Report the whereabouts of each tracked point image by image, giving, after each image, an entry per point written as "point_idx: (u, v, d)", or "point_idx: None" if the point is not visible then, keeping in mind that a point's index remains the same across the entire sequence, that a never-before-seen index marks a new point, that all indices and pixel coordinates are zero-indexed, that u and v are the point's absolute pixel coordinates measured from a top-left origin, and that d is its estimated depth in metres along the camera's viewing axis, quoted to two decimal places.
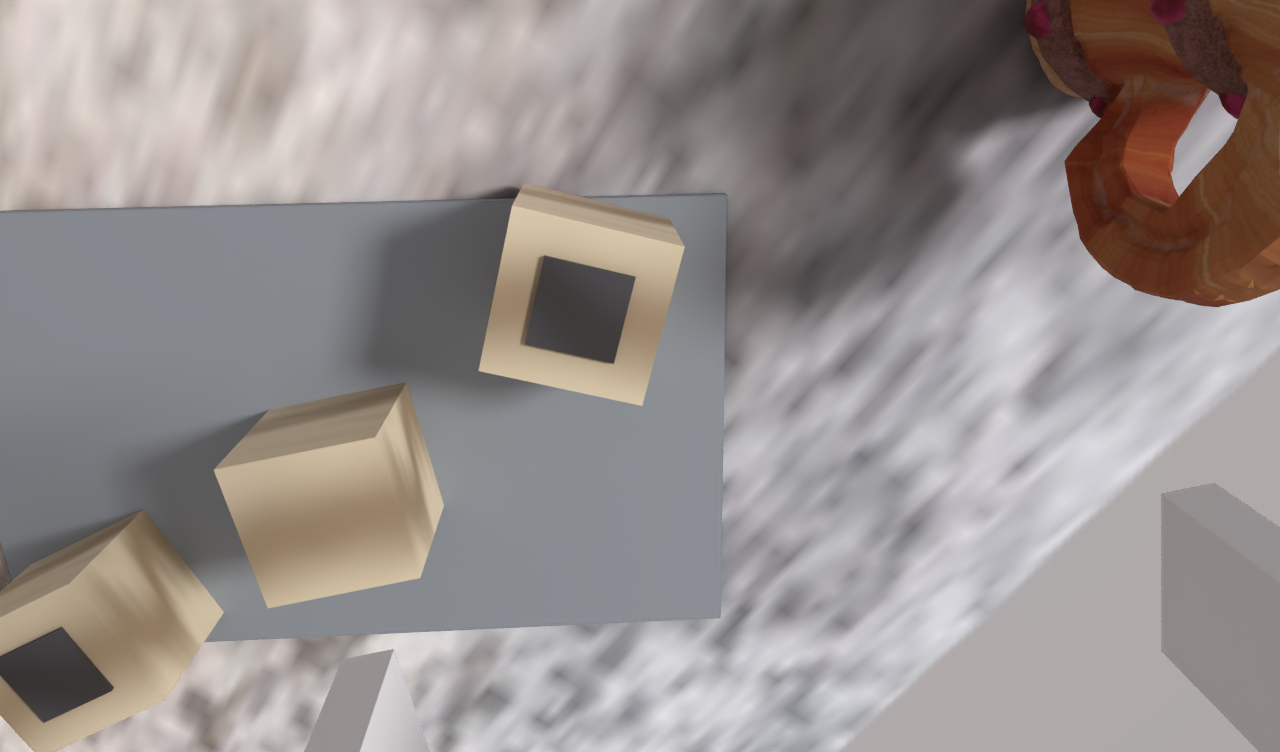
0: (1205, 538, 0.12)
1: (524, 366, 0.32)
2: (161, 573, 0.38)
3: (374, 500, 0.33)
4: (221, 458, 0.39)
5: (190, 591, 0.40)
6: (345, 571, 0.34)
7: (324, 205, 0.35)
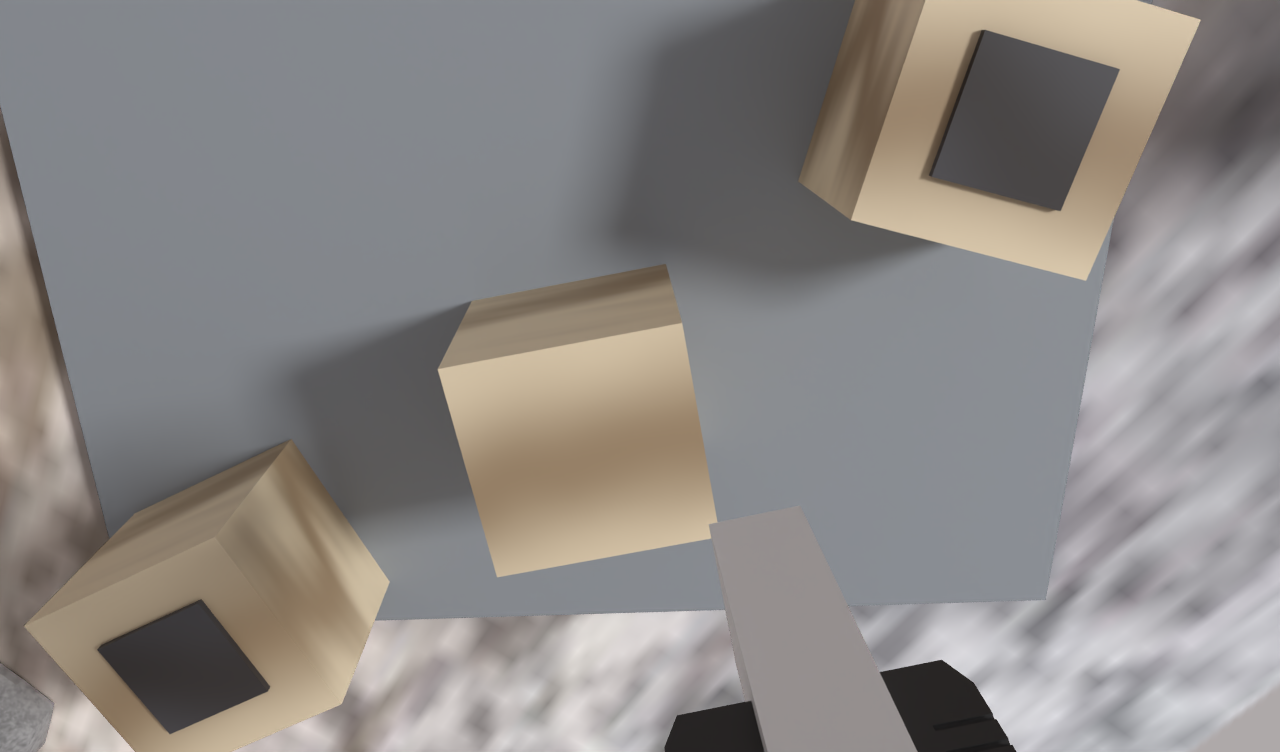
0: (766, 555, 0.13)
1: (921, 214, 0.21)
2: (319, 527, 0.28)
3: (668, 419, 0.22)
4: (401, 369, 0.28)
5: (351, 552, 0.29)
6: (614, 525, 0.23)
7: None
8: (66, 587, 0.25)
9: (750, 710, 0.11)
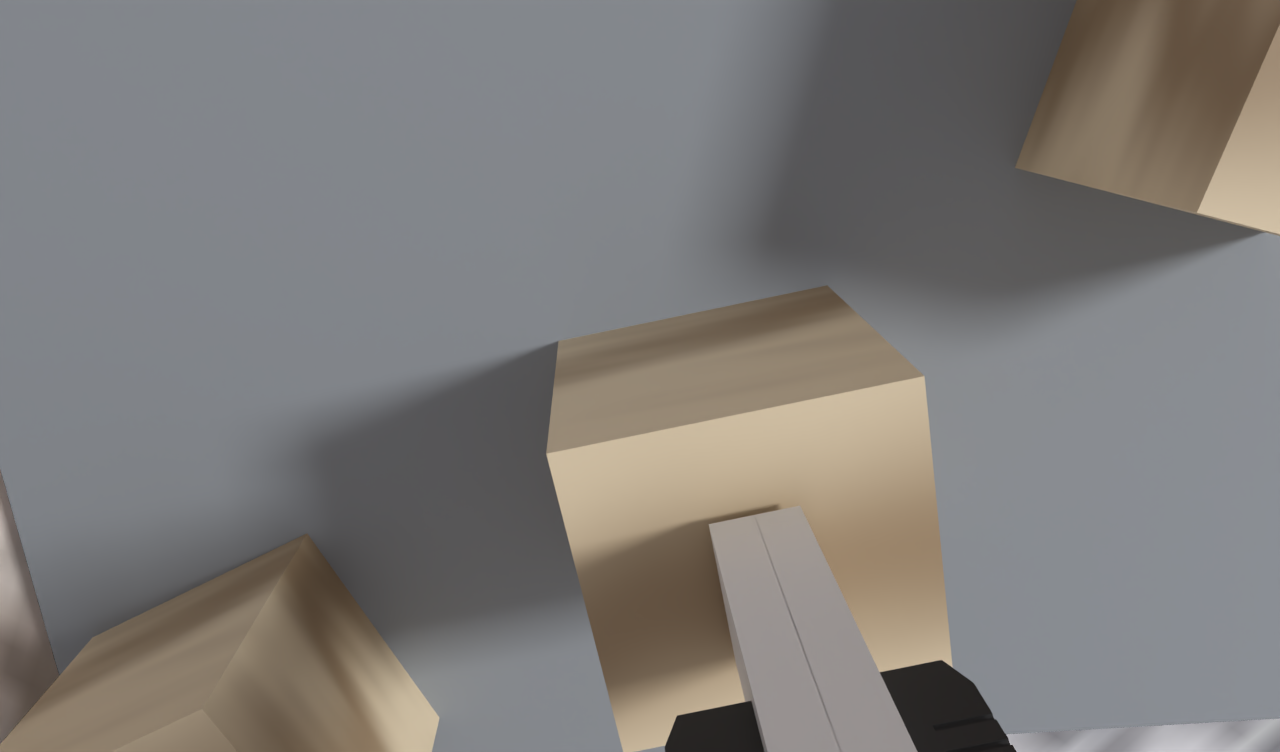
0: (766, 555, 0.13)
1: None
2: (348, 658, 0.20)
3: (892, 521, 0.15)
4: (459, 437, 0.20)
5: (391, 686, 0.21)
6: None
7: None
8: None
9: (750, 710, 0.11)
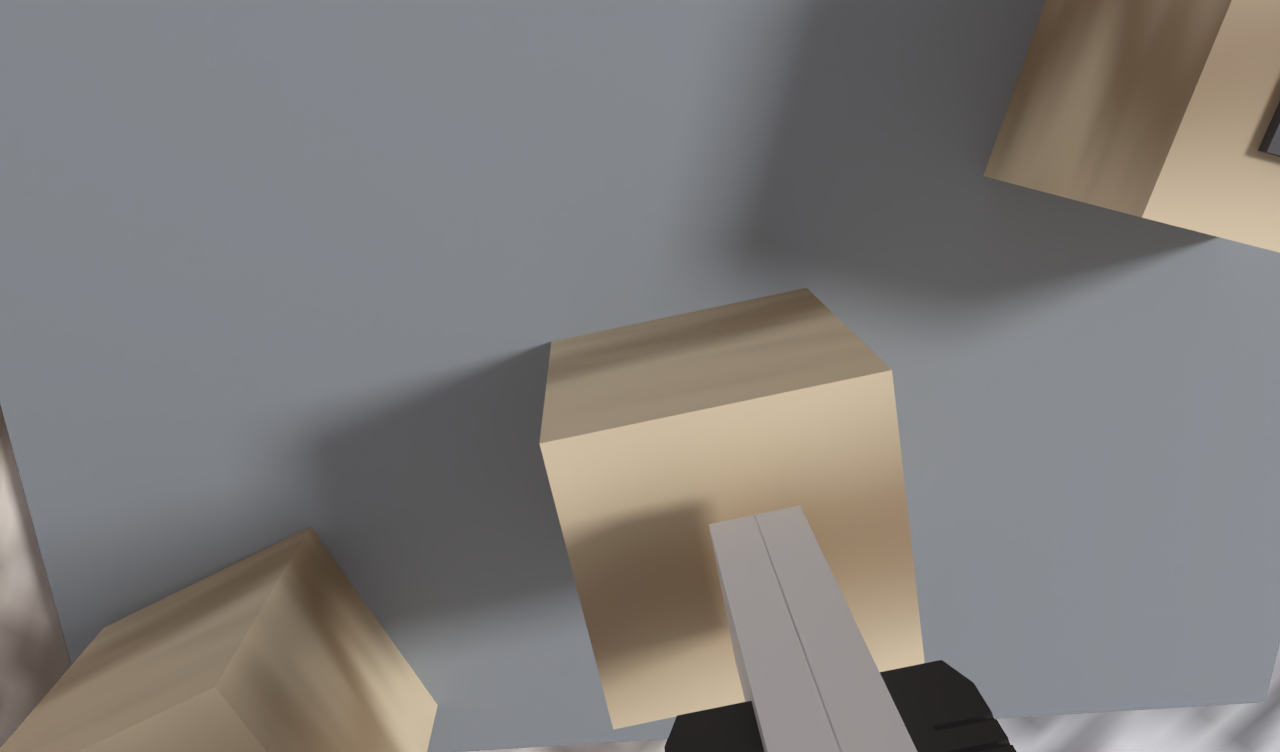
0: (766, 555, 0.13)
1: (1242, 208, 0.14)
2: (350, 646, 0.21)
3: (864, 506, 0.16)
4: (456, 433, 0.21)
5: (391, 673, 0.22)
6: None
7: None
8: (5, 750, 0.18)
9: (750, 710, 0.11)
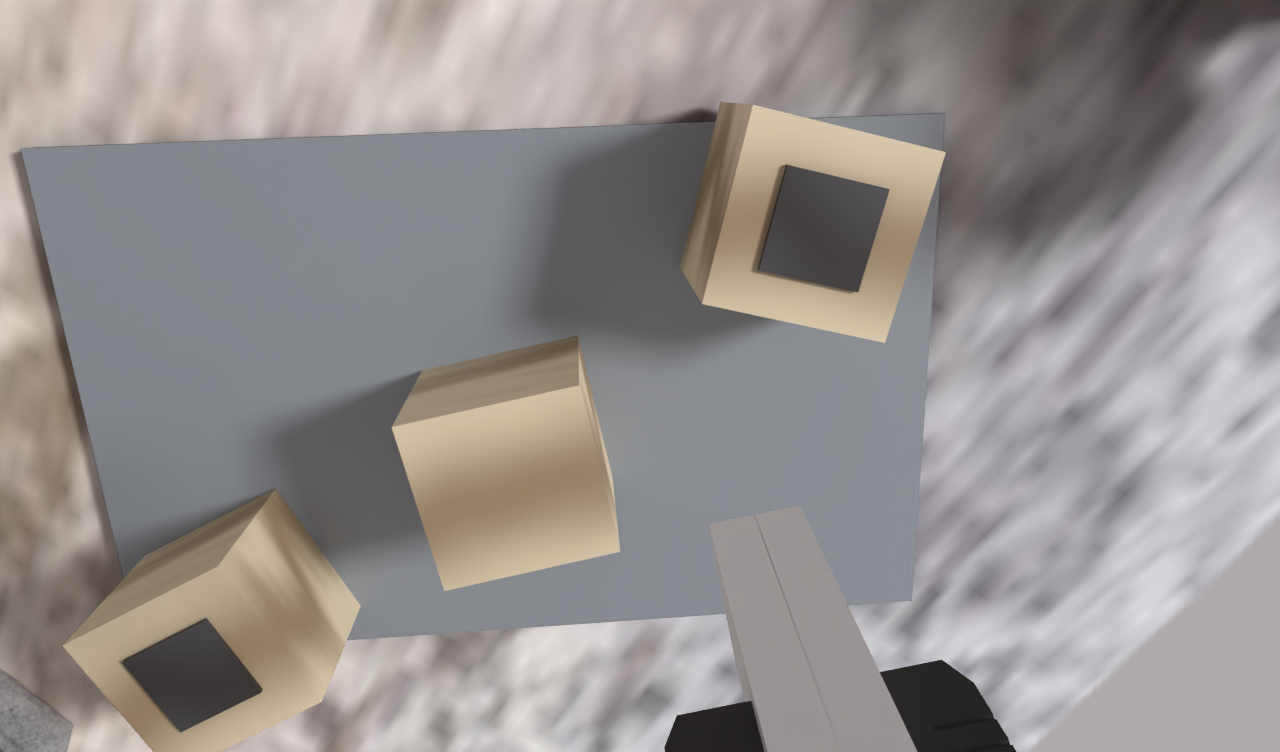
0: (766, 555, 0.13)
1: (754, 298, 0.27)
2: (300, 560, 0.34)
3: (573, 460, 0.29)
4: (366, 427, 0.34)
5: (328, 581, 0.35)
6: (535, 545, 0.29)
7: (495, 131, 0.31)
8: (94, 615, 0.31)
9: (750, 710, 0.11)
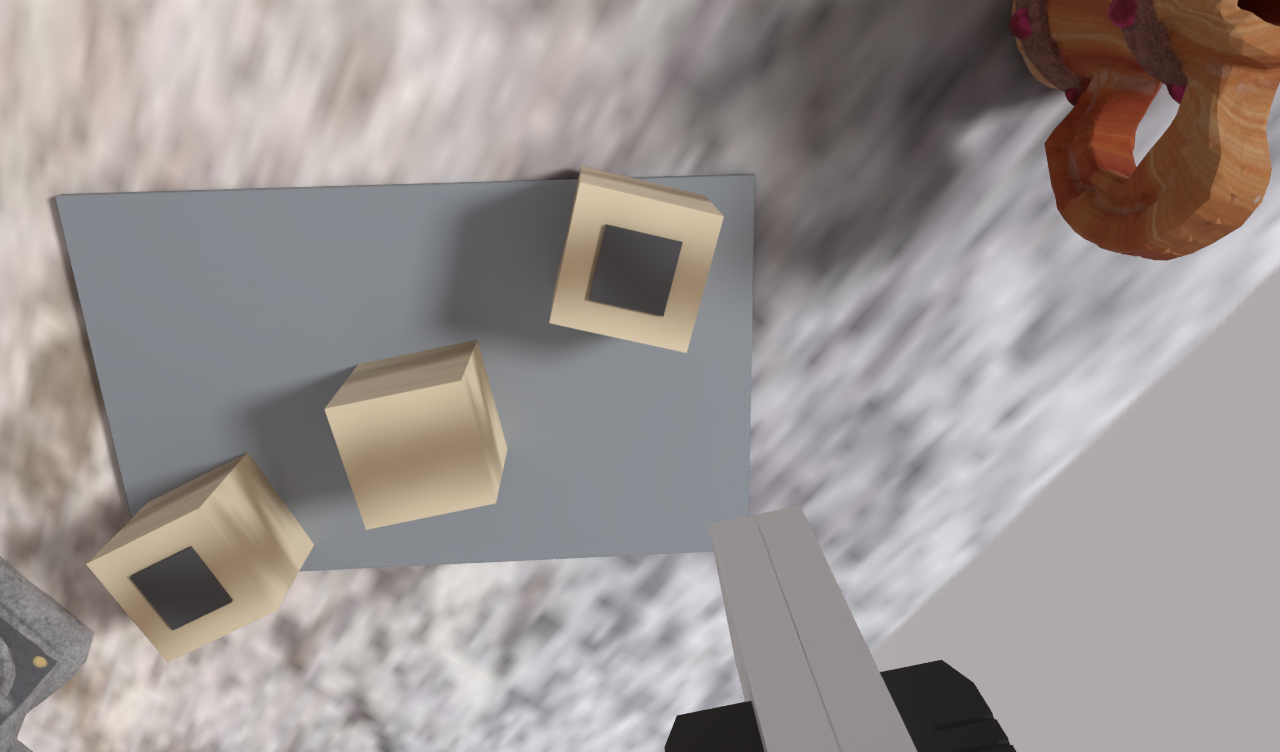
0: (767, 555, 0.13)
1: (588, 319, 0.38)
2: (265, 507, 0.44)
3: (458, 435, 0.39)
4: (316, 407, 0.45)
5: (287, 524, 0.46)
6: (432, 497, 0.40)
7: (410, 186, 0.41)
8: (109, 543, 0.42)
9: (750, 710, 0.11)
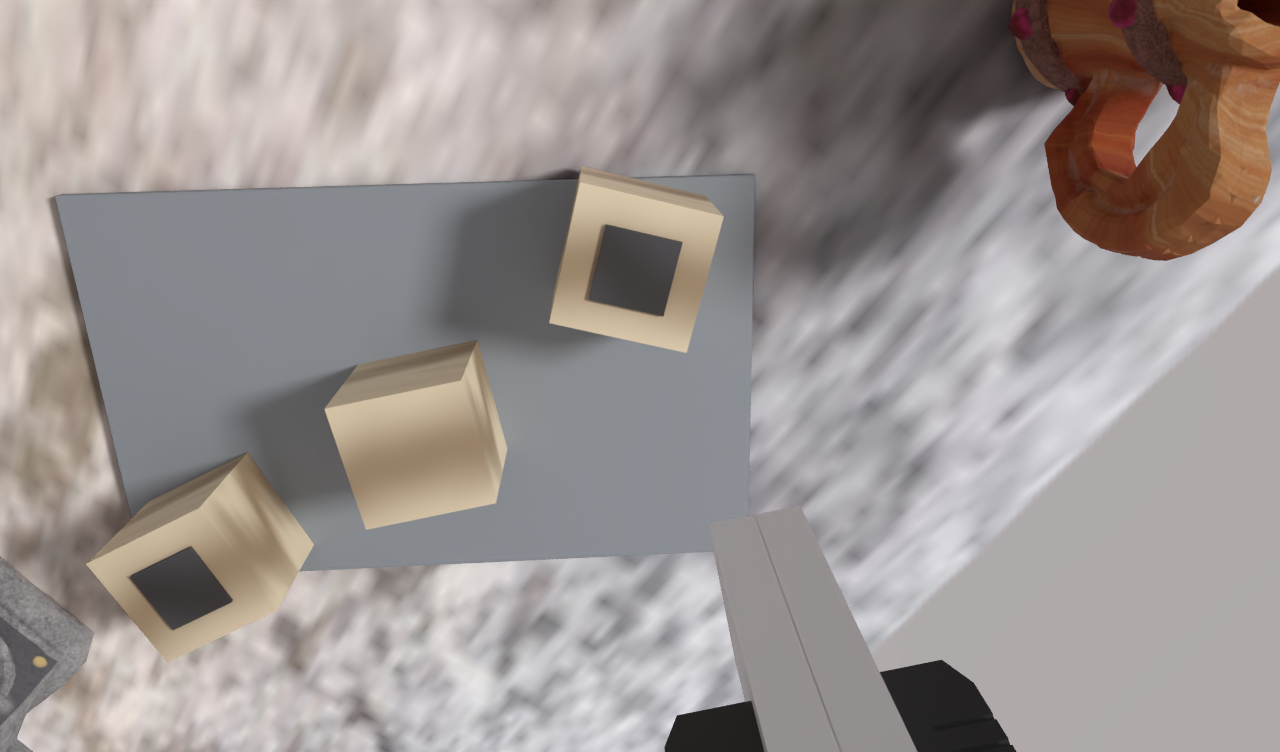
0: (767, 555, 0.13)
1: (588, 319, 0.38)
2: (265, 507, 0.44)
3: (458, 435, 0.39)
4: (316, 407, 0.45)
5: (287, 524, 0.46)
6: (432, 497, 0.40)
7: (410, 185, 0.41)
8: (109, 543, 0.42)
9: (750, 710, 0.11)
